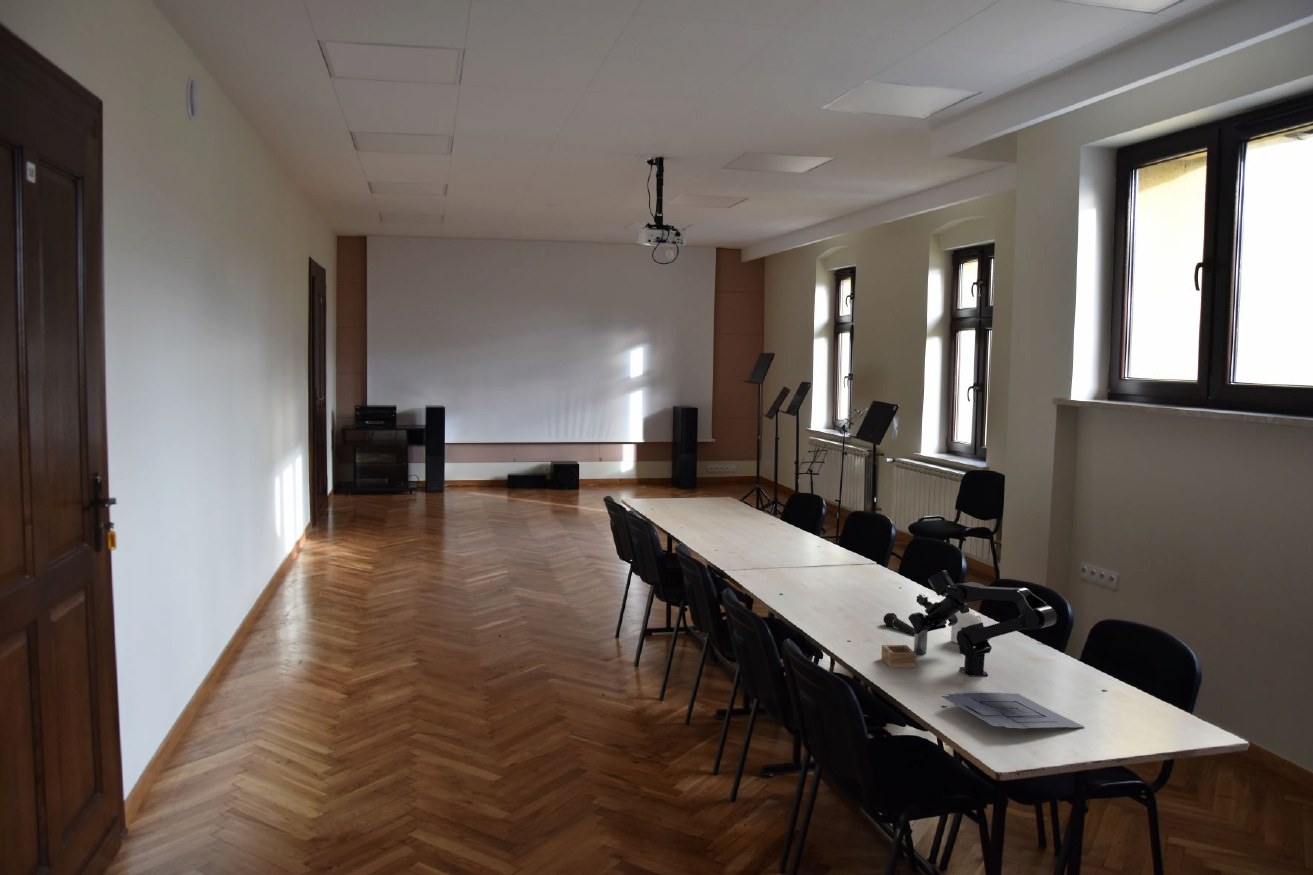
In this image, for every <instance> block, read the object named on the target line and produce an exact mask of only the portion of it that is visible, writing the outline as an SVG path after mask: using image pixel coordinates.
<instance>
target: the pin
mask: <svg viewBox="0 0 1313 875" xmlns="http://www.w3.org/2000/svg"><path fill="white" fill-rule="evenodd" d="M922 614H923V613H922ZM925 615H926V614H923V616H925ZM928 634H929V633H928V632H925V633H919V634H915V636H914V639H913V651H914V652H915V653H916V655H918V656H924V655H927V648H928V647H927V646H928Z"/></svg>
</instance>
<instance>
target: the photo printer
mask: <svg viewBox="0 0 1313 875" xmlns="http://www.w3.org/2000/svg"><path fill="white" fill-rule="evenodd" d="M955 615H956V617H957V618H958V622H957V623H956V624H955V625H953V626H951V630H950V632H951V634H950V635H951V636H950V641H951V642H953V643H955V644H958V642H957V632H958V631H960V630H961V628H962V627H966V626H970V625H972V624H977V623H981V622H982V618H981V616H980V614H978V613H977V612H976V611H974V610H971V609H969V612H968V613H964V614H961V612H960V611H959V612H957V613H956V614H955Z"/></svg>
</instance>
